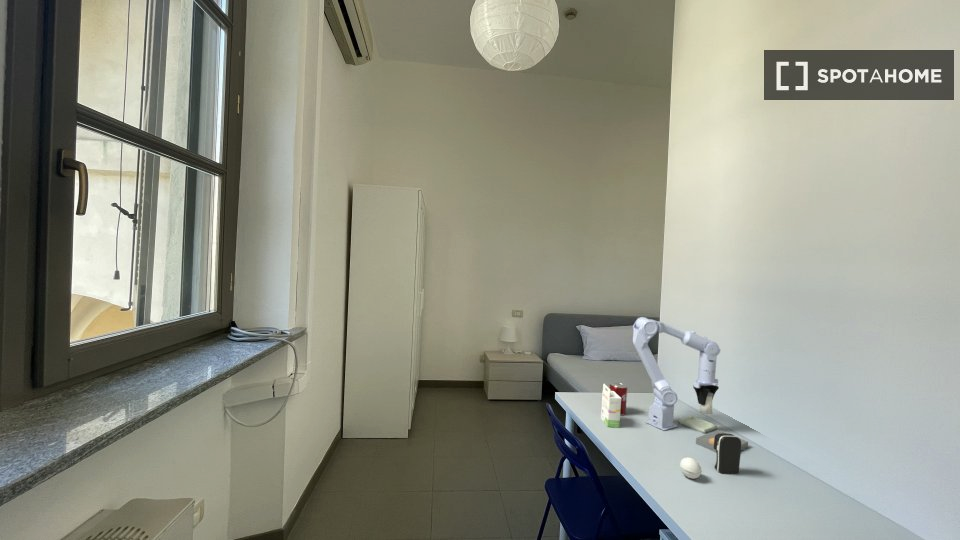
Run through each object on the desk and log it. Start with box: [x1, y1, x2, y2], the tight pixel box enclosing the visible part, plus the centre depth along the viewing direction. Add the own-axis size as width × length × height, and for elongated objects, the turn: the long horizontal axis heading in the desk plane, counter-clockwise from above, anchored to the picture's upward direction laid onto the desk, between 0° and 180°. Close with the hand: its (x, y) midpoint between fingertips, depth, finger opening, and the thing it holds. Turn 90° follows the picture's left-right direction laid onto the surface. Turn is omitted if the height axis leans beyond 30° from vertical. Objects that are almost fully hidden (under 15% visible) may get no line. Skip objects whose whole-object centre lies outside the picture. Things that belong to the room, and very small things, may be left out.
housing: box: [695, 429, 749, 453], centre depth 128 cm, size 16×10×2 cm, turn 121°
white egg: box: [679, 456, 708, 479], centre depth 105 cm, size 8×6×6 cm
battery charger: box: [714, 432, 742, 474], centre depth 111 cm, size 7×4×11 cm, turn 94°
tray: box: [678, 415, 718, 435], centre depth 143 cm, size 10×10×2 cm
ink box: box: [600, 383, 621, 429], centre depth 141 cm, size 9×5×15 cm, turn 179°
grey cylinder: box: [699, 392, 713, 415], centre depth 140 cm, size 4×4×8 cm
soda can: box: [608, 382, 628, 416], centre depth 152 cm, size 7×7×12 cm
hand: (704, 403), depth 141 cm, fingers closed on grey cylinder, 4 cm apart
